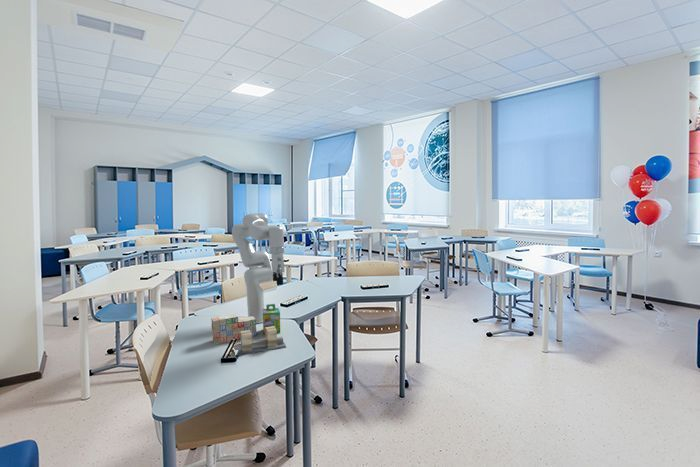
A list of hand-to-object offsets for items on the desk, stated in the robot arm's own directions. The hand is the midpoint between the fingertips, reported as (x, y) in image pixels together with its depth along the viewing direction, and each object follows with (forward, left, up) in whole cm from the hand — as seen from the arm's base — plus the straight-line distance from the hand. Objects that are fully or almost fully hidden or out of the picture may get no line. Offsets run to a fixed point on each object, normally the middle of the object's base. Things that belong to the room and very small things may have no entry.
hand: (278, 282), depth 196 cm
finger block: (+13, -7, -27) cm, 31 cm away
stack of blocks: (-6, -23, -29) cm, 37 cm away
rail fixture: (+13, -13, -28) cm, 34 cm away
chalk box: (-8, -3, -28) cm, 30 cm away
